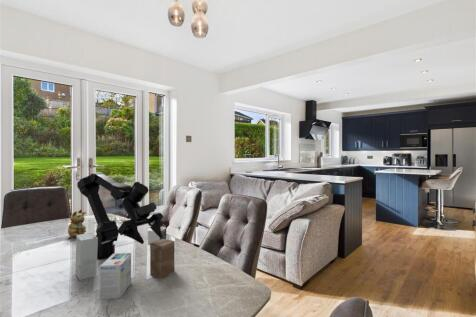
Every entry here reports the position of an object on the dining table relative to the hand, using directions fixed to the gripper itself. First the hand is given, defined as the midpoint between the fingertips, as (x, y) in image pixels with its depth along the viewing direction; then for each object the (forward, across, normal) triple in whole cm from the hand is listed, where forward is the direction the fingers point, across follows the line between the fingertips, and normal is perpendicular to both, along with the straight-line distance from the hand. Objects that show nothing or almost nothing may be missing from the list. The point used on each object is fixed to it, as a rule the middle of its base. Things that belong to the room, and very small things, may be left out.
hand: (152, 239), depth 102 cm
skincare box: (-5, -15, +22) cm, 27 cm away
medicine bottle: (-9, +26, +26) cm, 37 cm away
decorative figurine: (-44, +11, +61) cm, 76 cm away
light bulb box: (+10, -17, +8) cm, 21 cm away
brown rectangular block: (+12, 0, +5) cm, 13 cm away
